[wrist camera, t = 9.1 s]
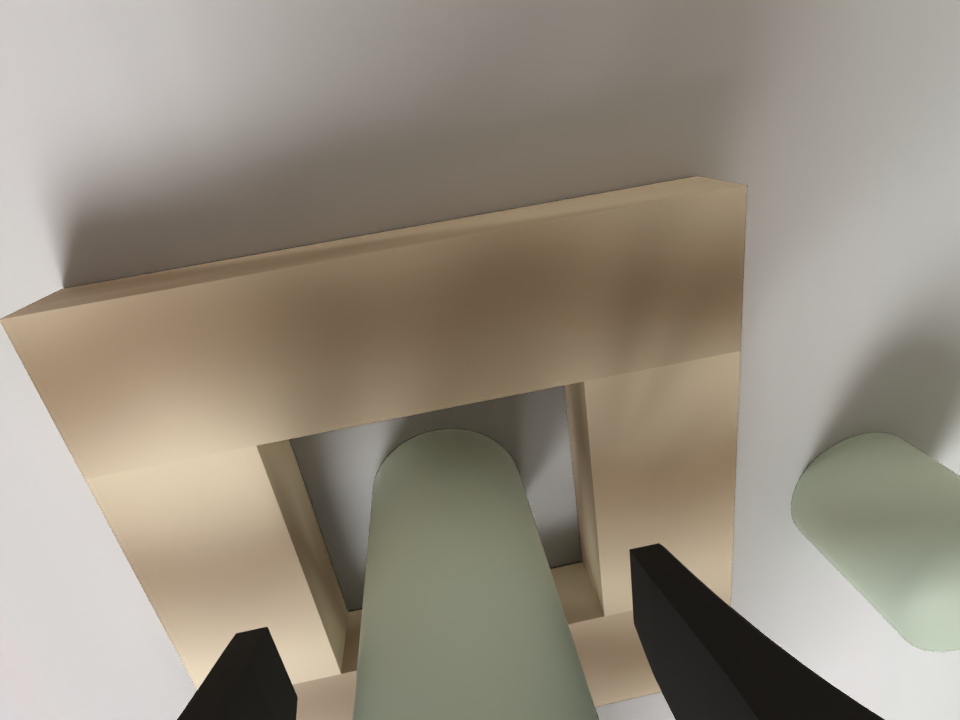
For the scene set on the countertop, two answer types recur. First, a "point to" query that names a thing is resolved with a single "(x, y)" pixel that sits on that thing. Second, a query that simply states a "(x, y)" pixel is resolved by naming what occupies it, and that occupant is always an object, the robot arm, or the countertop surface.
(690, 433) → the hole board
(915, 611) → the short peg
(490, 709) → the tall peg
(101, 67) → the countertop surface
